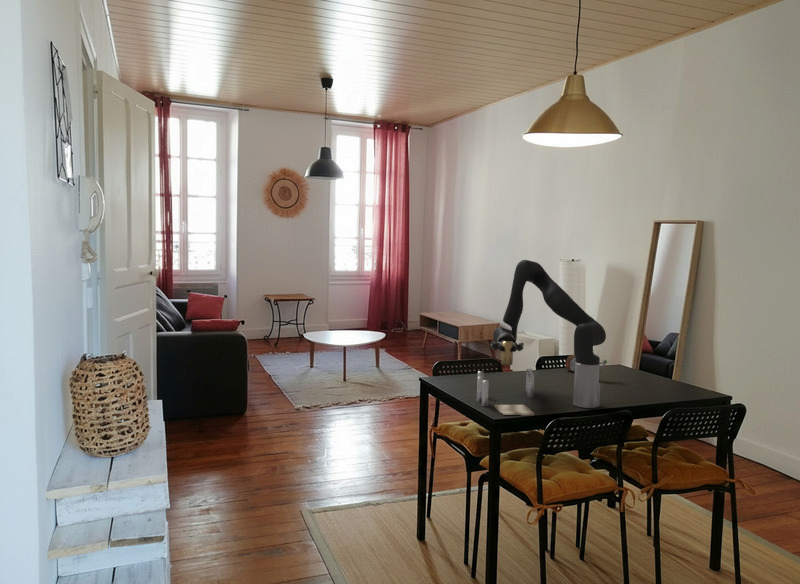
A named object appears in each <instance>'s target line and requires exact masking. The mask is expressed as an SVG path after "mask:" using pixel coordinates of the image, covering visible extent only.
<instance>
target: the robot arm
mask: <svg viewBox="0 0 800 584" xmlns="http://www.w3.org/2000/svg"><path fill="white" fill-rule="evenodd" d="M527 282H529V283H531V284H533V285H534V286H535V287H536V288H538V290H539V291H540V292H541V295H542V297H543V300H544V302H545V304H546V306H547V307H549V308H550V310H551V311H552V312H553V313H554V314H556V315H557V316H559V317H560V318H561V319H563V320H566V321H568V322H570V323H572V324H573V325H574V326H575V329H574V333H573V355H575V359H576V361H575V371H574V379H573V380H574V381H573V382H574V383H573V398H572V399H573V400H572V401H573V402H572V404H573V405H574V406H576V407H579V408H584V409H593V408H594V409H595V408H599V407H600V398H601V397H600V396H601V383H600V382H599V381H600V380H599V378H600V377H599V376H600V368H599V366H600V365H601V364H600V363H601V362H600V356H599V355H597V354H595V353H594V347H595V346H599V345H602V344H603V343H605V341H606V338H607V334H606V330H605V329H604V327H603V326H602V325H601V324H600V323H599V322H598V321H597V320H595V319H594V318H593V316H590V315H589V314H588V313H587V312H586V311H585V310H584V309H582V307H581V306H580V305H579V304H578V303H577V302H576V301H575V300H573V298H572V297H571V296H570V295H569V294H568V293H567V292H566V291H565V290H564V289H563V288H562V287H561V286H559V285H558V283H557V282H555V281H554V280H553V279H552V277H551V276H550V275H549V274H548V272H546V270H545V269H544V268H543V266H542V265H541V264H540V263H538V262H537V261H533V260H530V259H529V260H527V259H521V260H520V261H519V262H517V264H516V267H515V270H514V274H513V279H512V284H511V285H512V286H511V291H510V296H509V300H508V302H507V307H506V309H505V312H504V315H503V318H502V321H503V323H504V324H506V325H508V326H509V327H510V329H508V328H504V327H501V326H498V327H496V328H495V329H494V331H493V334H492V338H493V340H492V341H490V348H491V349H493V350H495V351H497V350H498V351H500V352H501V353H502V348H503V346H502V341H511V342H513V353H515V352H517V351H518V352H521V351H523V350H524V345H525V344H524V342H519V343H517V337H518V326H519V322H520V319H521V317H522V314H523V311H524V288H525V286H526V285H527Z"/></svg>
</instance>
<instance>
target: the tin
mask: <svg viewBox="0 0 800 584" xmlns="http://www.w3.org/2000/svg"><path fill="white" fill-rule="evenodd" d="M575 361H576V359H575V355H574V354H570V355H568V357H567V358H566V359H565V364H564V366H565V370H567V371H568V372H573V373H575Z"/></svg>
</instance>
